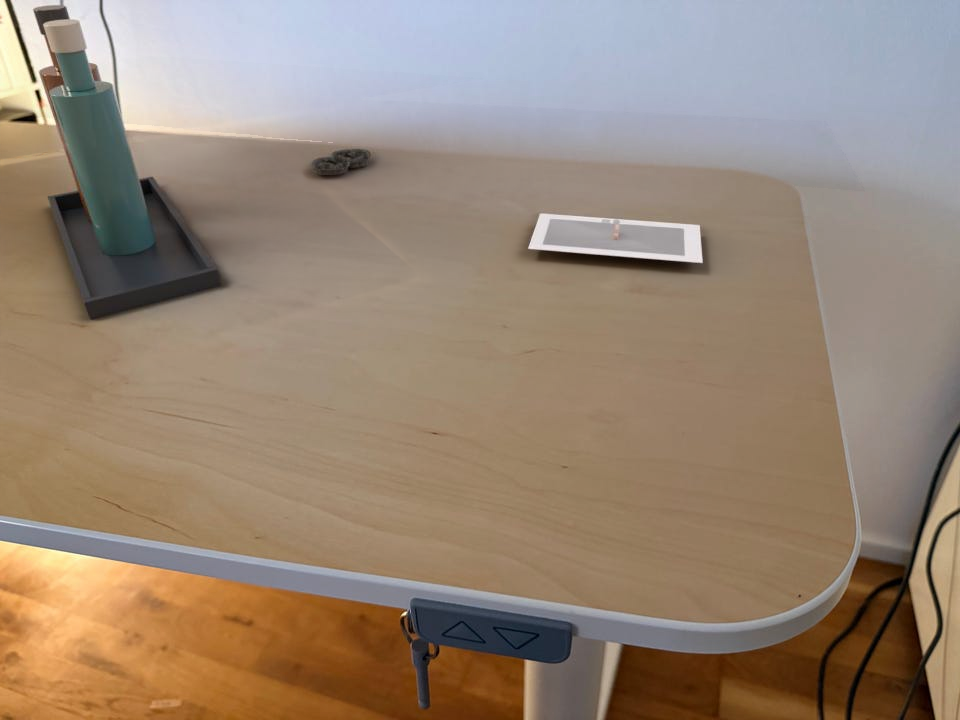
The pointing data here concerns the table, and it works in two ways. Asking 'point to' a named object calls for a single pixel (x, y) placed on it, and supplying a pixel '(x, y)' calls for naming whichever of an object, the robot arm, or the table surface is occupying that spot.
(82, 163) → the teal bottle
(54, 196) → the tray
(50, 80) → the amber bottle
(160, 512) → the table surface
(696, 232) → the touchpad
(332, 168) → the corroded twin loop
